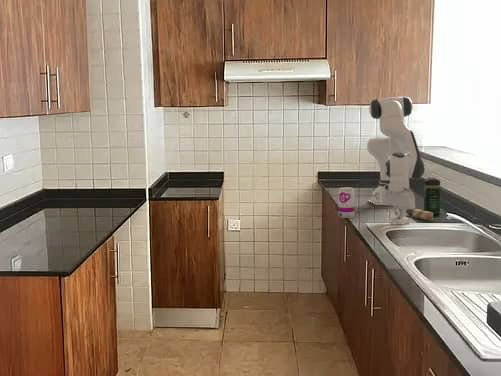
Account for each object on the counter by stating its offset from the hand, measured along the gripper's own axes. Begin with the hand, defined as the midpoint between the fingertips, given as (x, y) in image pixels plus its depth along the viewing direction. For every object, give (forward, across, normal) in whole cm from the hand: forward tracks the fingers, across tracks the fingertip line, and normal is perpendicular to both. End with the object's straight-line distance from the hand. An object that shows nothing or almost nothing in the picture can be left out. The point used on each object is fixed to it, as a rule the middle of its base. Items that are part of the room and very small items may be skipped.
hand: (399, 216), depth 275 cm
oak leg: (+3, +8, -17) cm, 19 cm away
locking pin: (+3, 0, 0) cm, 3 cm away
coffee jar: (+4, +14, -29) cm, 32 cm away
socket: (+4, 0, 0) cm, 4 cm away
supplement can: (+4, +28, +13) cm, 31 cm away
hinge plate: (+3, +8, -17) cm, 19 cm away
